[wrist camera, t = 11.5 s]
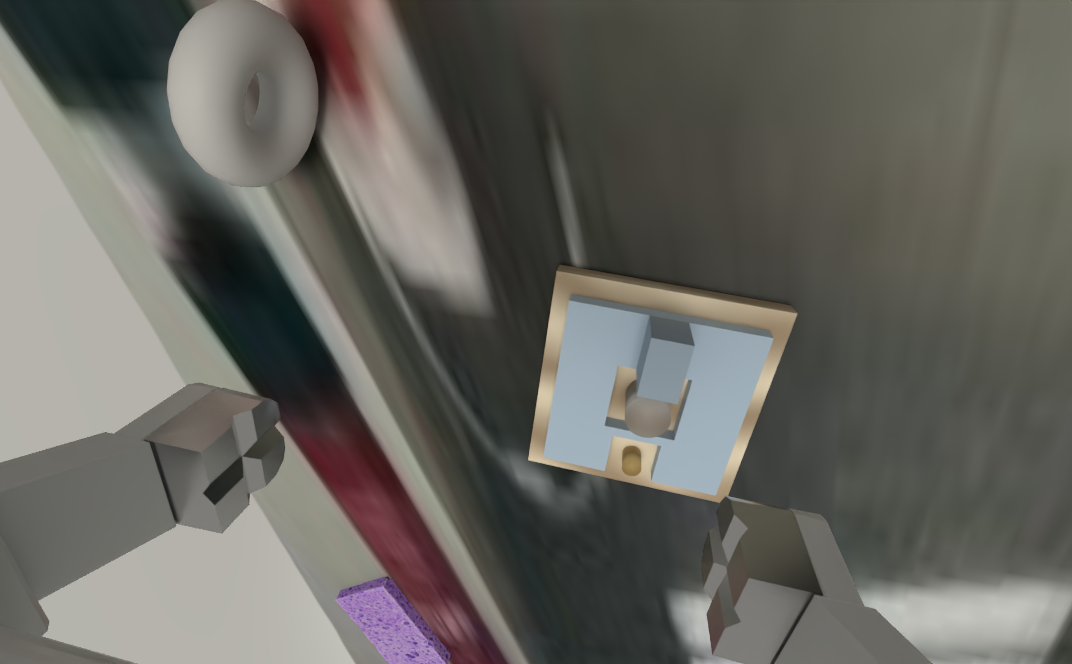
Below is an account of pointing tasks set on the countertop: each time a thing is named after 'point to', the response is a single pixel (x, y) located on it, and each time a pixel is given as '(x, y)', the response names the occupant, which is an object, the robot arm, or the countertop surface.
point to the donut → (242, 92)
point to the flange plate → (699, 404)
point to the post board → (638, 412)
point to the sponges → (392, 623)
